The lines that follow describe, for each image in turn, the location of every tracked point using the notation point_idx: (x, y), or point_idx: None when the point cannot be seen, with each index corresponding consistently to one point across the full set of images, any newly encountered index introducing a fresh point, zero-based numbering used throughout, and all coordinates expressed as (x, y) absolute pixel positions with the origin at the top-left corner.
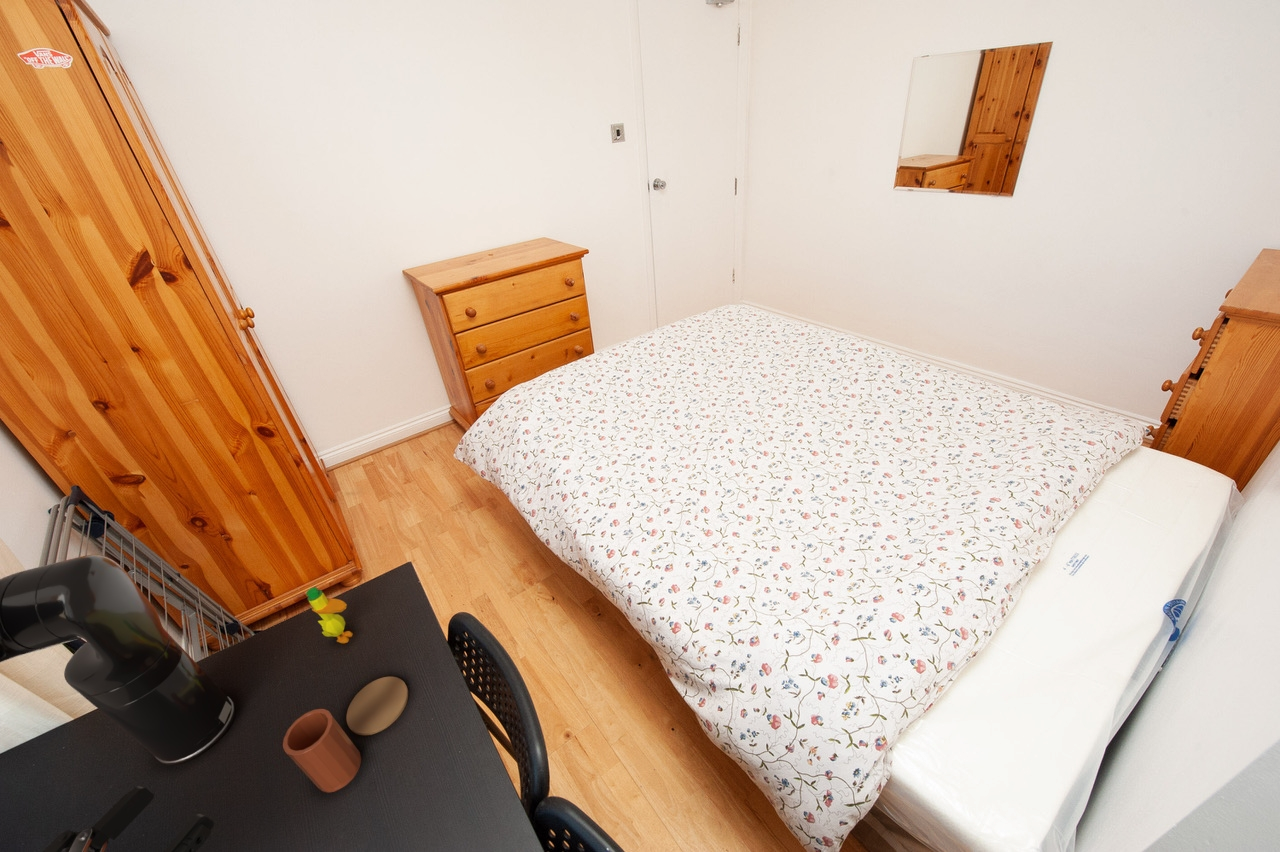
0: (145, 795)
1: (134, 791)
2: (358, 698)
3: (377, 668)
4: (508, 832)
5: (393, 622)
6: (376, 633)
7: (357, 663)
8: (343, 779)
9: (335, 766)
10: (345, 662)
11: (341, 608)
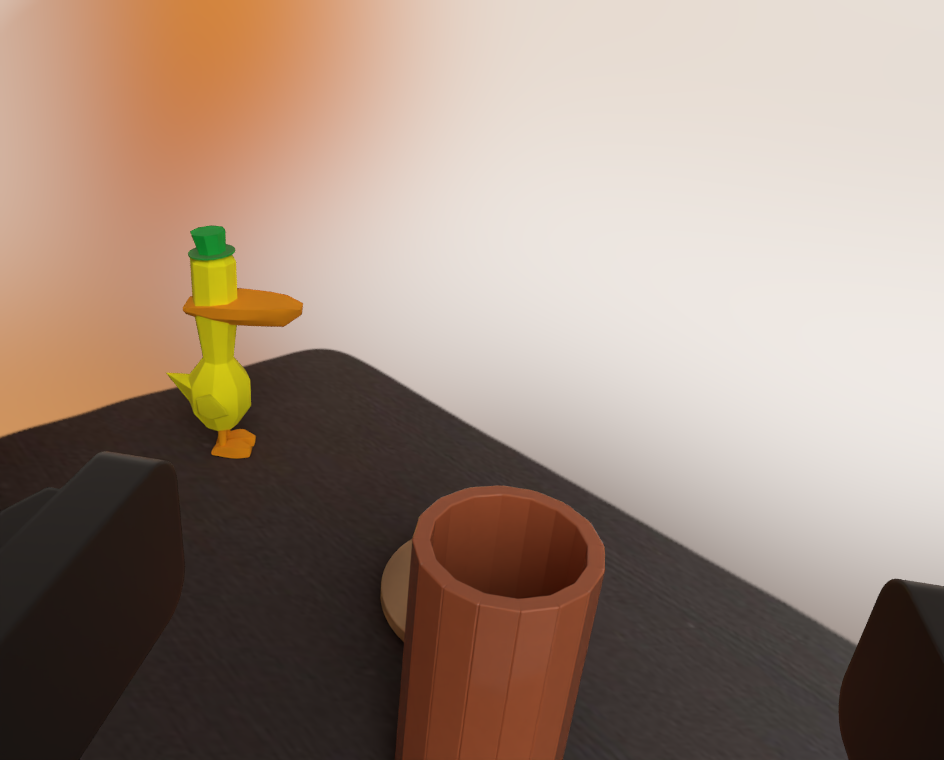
0: (163, 545)
1: (124, 466)
2: (401, 574)
3: (398, 513)
4: None
5: (368, 422)
6: (331, 442)
7: (319, 501)
8: None
9: (569, 718)
10: (275, 499)
11: (294, 308)
